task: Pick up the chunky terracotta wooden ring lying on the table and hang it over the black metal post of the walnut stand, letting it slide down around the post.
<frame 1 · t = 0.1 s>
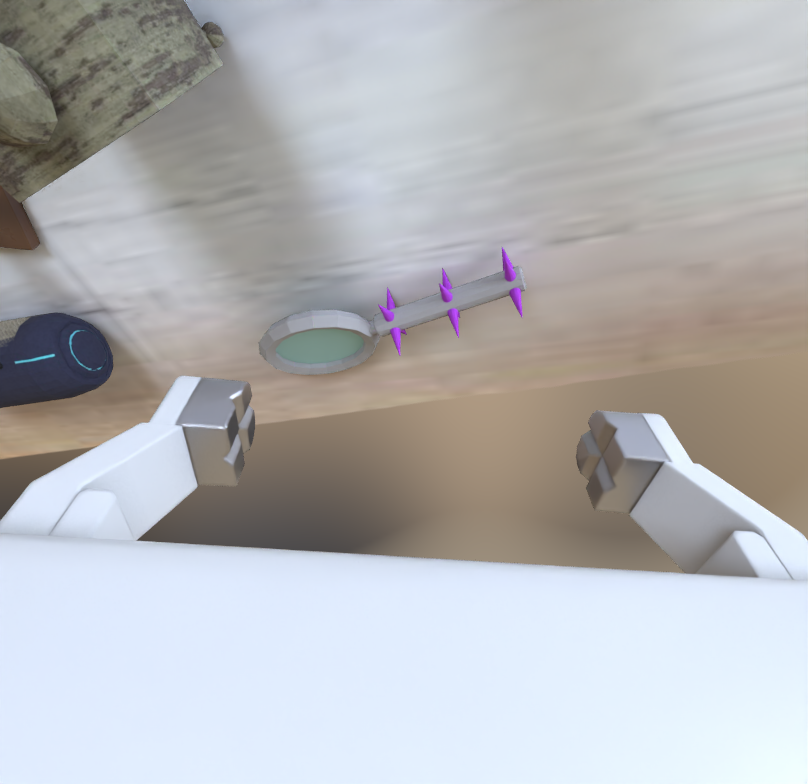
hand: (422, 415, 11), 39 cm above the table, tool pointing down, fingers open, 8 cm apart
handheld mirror: (390, 308, 56), on the table
portable speaker: (24, 338, 60), on the table
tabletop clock: (141, 30, 37), on the table
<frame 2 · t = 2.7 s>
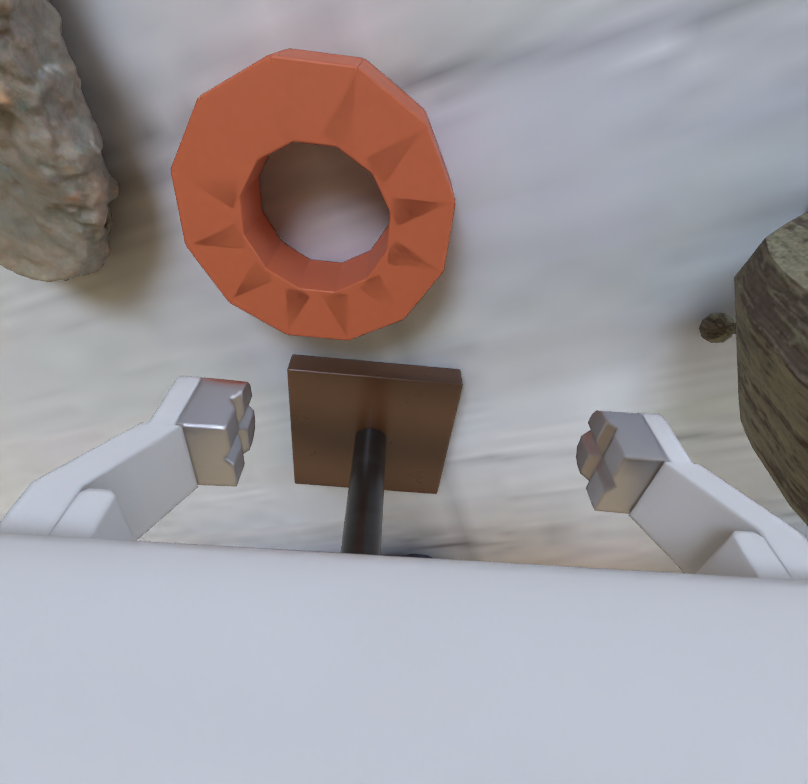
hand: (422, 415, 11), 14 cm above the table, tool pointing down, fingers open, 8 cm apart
stand: (372, 422, 31), on the table
ring: (326, 199, 22), on the table
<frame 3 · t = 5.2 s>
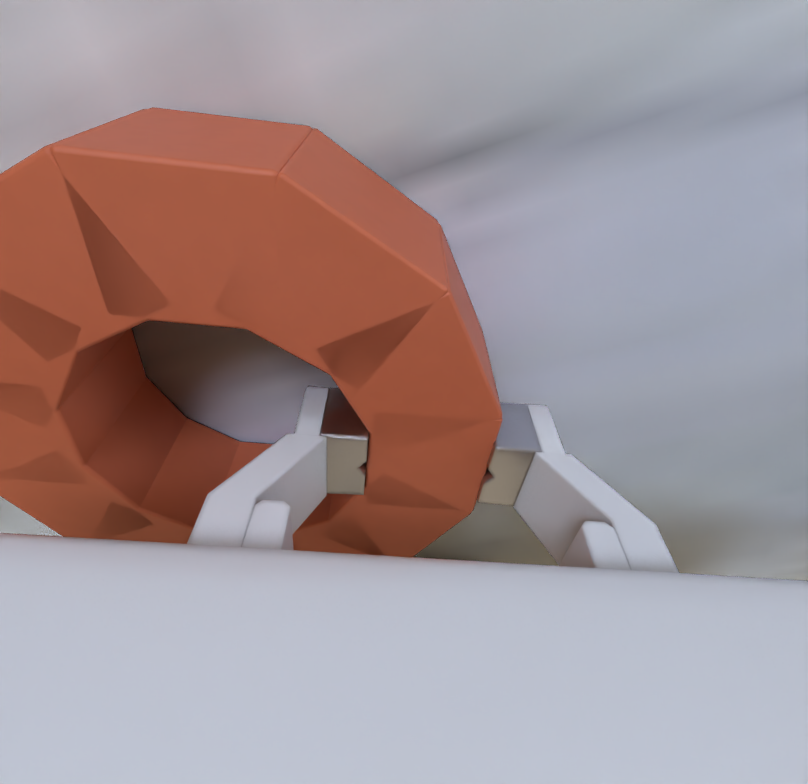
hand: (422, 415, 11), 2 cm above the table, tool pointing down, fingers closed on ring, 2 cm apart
ring: (259, 361, 12), on the table, touching gripper
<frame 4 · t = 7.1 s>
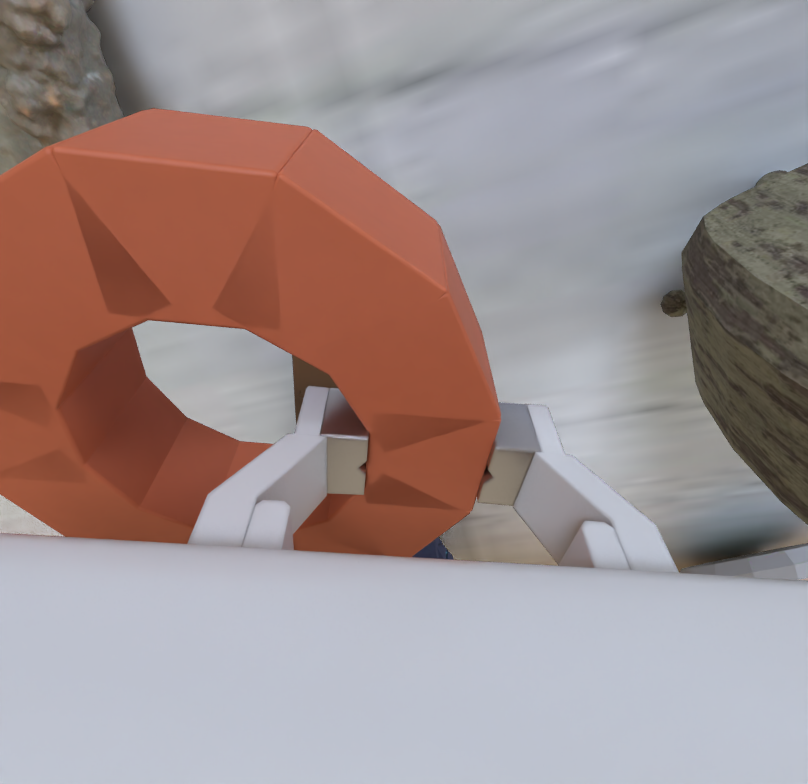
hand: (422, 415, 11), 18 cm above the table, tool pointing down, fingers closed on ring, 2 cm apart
stand: (368, 398, 34), on the table
ring: (259, 361, 12), point 16 cm above the table, touching gripper
portable speaker: (327, 545, 45), on the table
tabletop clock: (763, 215, 26), on the table
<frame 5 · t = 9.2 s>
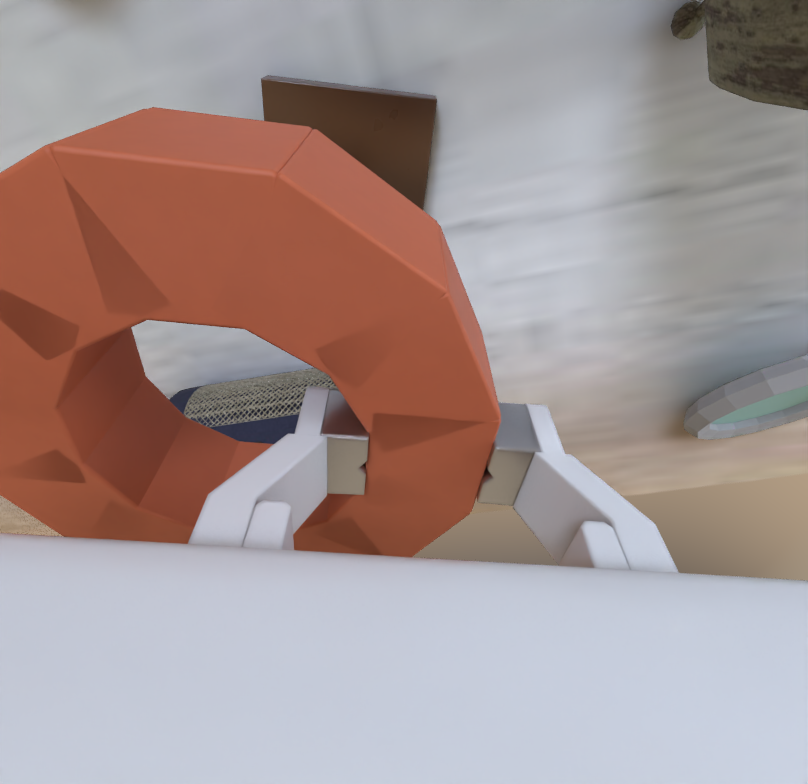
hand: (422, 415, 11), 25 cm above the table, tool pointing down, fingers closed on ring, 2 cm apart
stand: (349, 174, 31), on the table
ring: (258, 361, 12), point 23 cm above the table, touching gripper
portable speaker: (310, 391, 43), on the table
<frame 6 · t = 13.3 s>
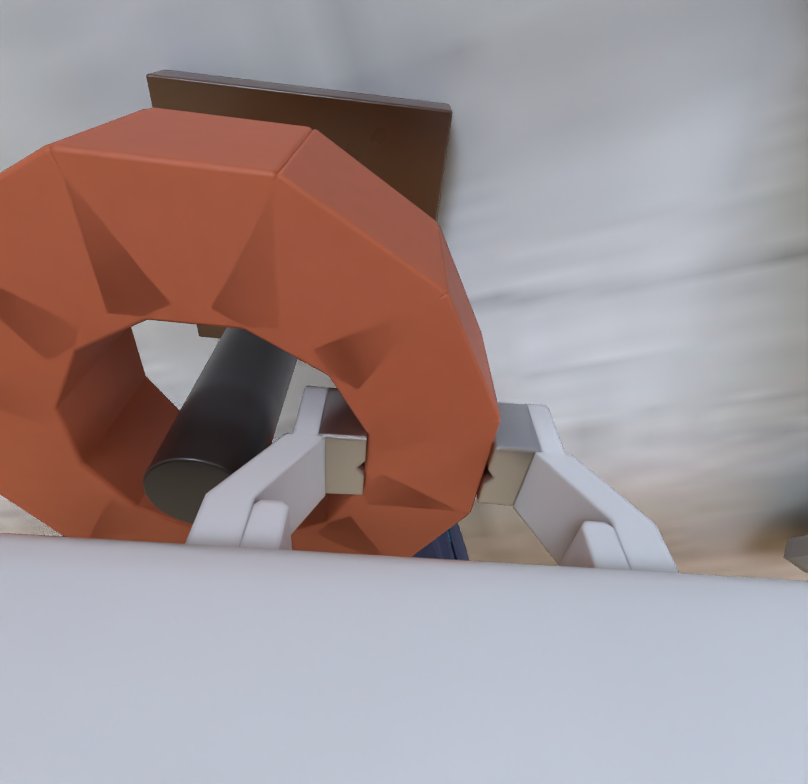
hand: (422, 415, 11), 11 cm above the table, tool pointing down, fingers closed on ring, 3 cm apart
stand: (312, 227, 20), on the table
ring: (258, 361, 12), point 10 cm above the table, touching gripper
portable speaker: (273, 501, 32), on the table
when the fingers open (11 cm above the table, at t = 13.5 s): ring drops 7 cm, resting on stand.
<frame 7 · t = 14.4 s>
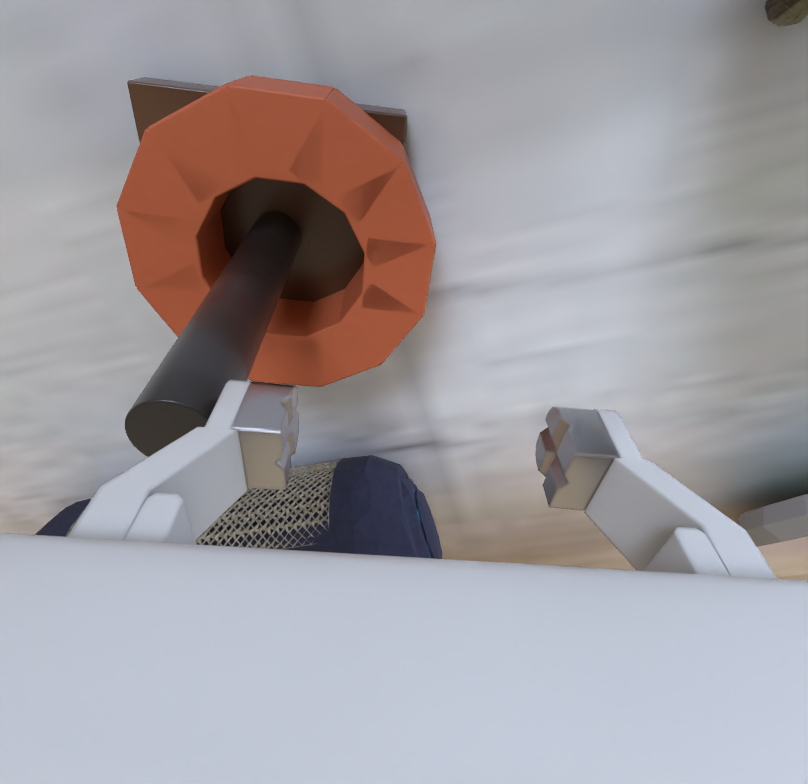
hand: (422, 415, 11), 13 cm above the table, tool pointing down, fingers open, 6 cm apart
stand: (283, 223, 21), on the table
ring: (295, 236, 20), point 1 cm above the table, touching stand
portable speaker: (252, 492, 33), on the table
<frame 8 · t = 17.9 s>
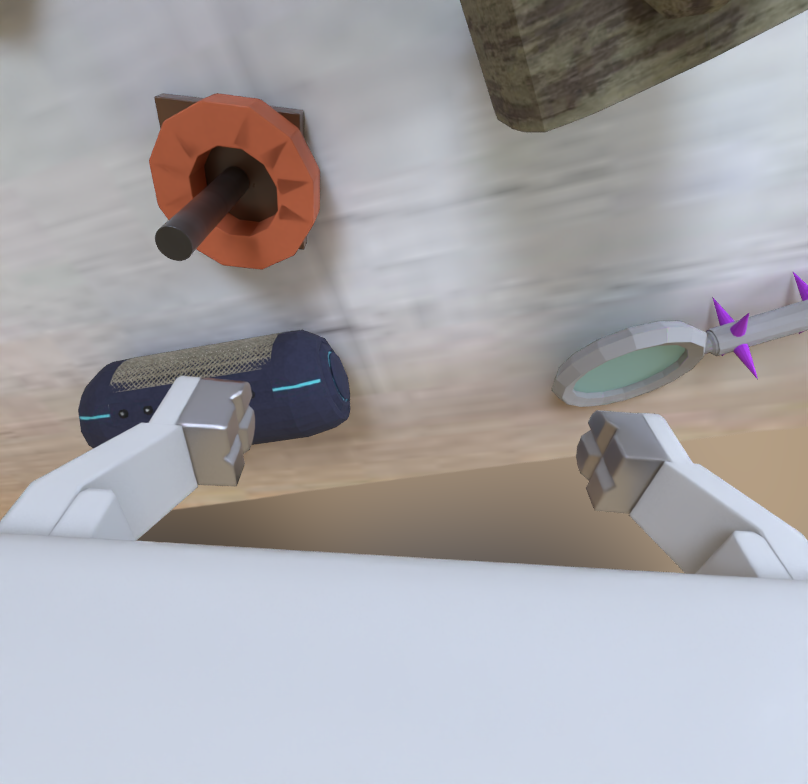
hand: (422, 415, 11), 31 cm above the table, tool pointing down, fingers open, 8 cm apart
stand: (241, 175, 37), on the table
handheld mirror: (701, 323, 46), on the table
ring: (246, 181, 36), point 1 cm above the table, touching stand
portable speaker: (233, 364, 49), on the table
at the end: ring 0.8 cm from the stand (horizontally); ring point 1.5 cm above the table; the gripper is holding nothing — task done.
